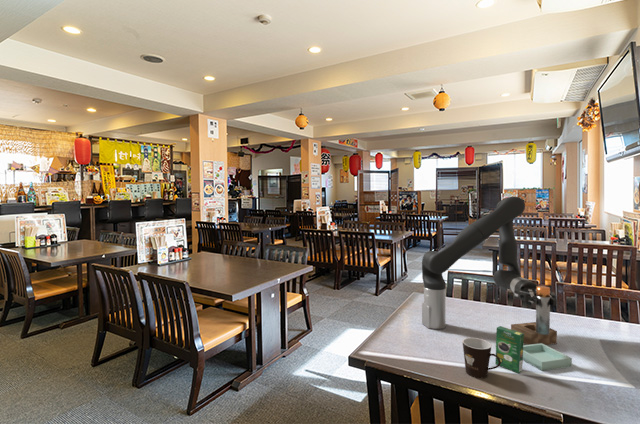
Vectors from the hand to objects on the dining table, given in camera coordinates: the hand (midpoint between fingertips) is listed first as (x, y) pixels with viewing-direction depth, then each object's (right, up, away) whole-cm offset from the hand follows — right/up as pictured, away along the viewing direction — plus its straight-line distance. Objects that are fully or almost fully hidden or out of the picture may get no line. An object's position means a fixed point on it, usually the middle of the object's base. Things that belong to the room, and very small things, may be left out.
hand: (547, 302), depth 115 cm
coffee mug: (-26, -22, -6) cm, 35 cm away
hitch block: (+8, -20, +21) cm, 30 cm away
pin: (+1, -11, +3) cm, 12 cm away
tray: (0, -21, +4) cm, 22 cm away
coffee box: (-14, -22, -1) cm, 26 cm away
